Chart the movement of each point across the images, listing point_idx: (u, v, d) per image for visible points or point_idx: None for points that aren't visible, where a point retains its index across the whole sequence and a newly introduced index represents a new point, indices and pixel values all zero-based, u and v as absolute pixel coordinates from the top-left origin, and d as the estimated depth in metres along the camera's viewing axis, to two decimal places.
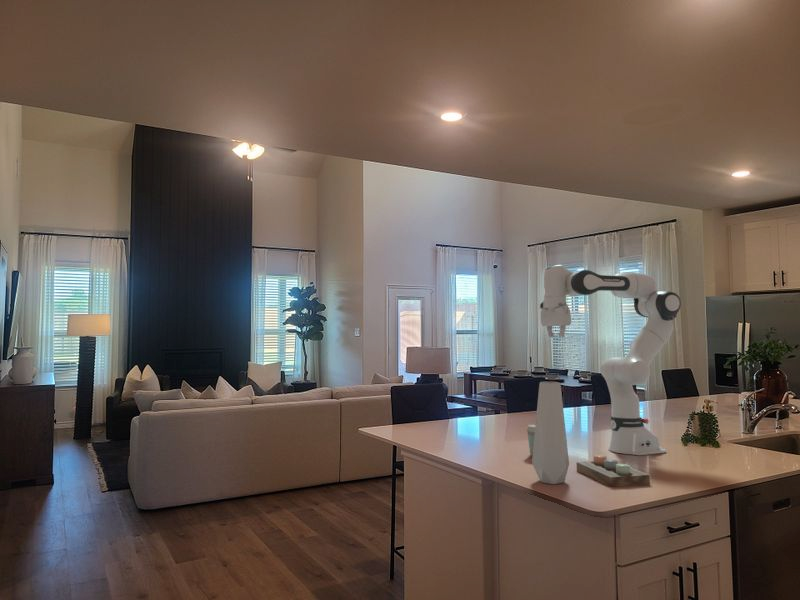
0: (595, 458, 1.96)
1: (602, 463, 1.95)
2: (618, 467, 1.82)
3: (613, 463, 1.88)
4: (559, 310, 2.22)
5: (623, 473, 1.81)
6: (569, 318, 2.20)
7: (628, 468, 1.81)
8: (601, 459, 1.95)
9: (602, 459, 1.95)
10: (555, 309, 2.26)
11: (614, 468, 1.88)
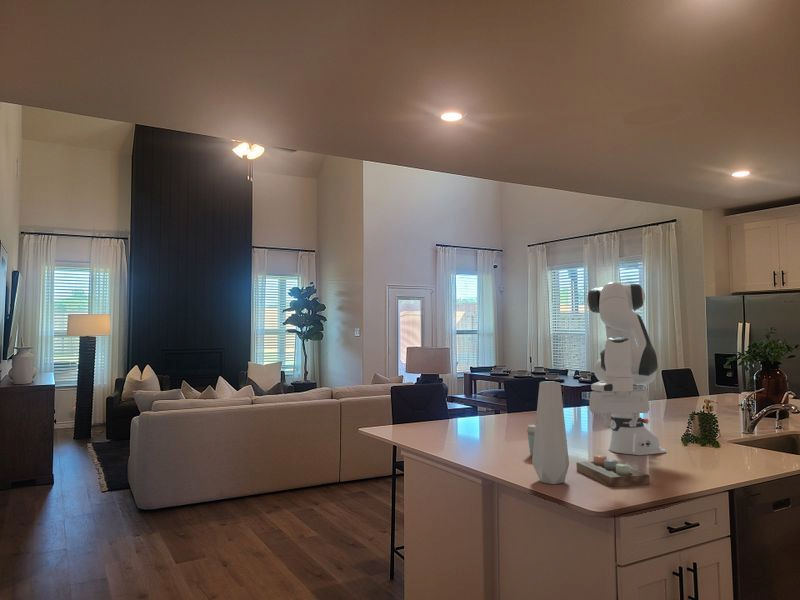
0: (595, 458, 1.96)
1: (602, 463, 1.95)
2: (618, 467, 1.82)
3: (613, 463, 1.88)
4: (641, 394, 1.85)
5: (623, 473, 1.81)
6: None
7: (628, 468, 1.81)
8: (601, 459, 1.95)
9: (602, 459, 1.95)
10: (632, 393, 1.84)
11: (614, 468, 1.88)
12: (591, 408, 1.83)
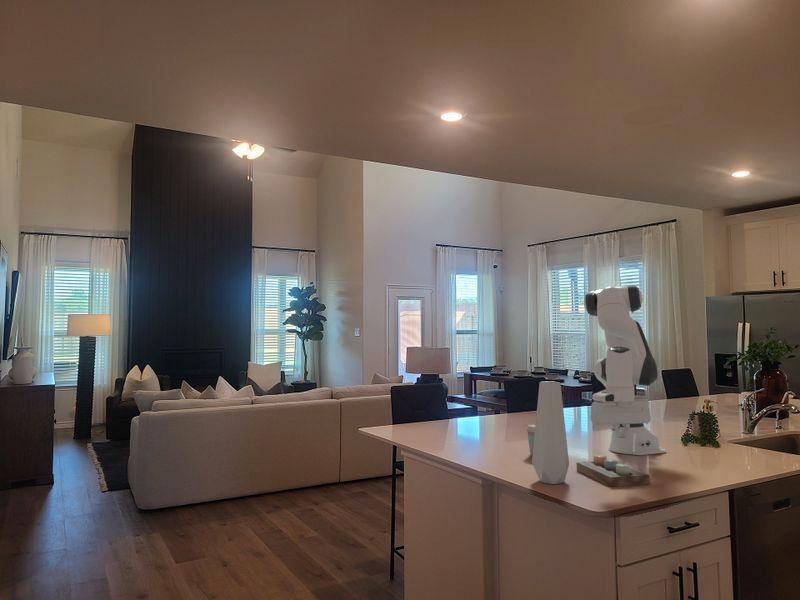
0: (595, 458, 1.96)
1: (602, 463, 1.95)
2: (618, 467, 1.82)
3: (613, 463, 1.88)
4: (642, 405, 1.84)
5: (623, 473, 1.81)
6: None
7: (628, 468, 1.81)
8: (601, 459, 1.95)
9: (602, 459, 1.95)
10: (633, 403, 1.83)
11: (614, 468, 1.88)
12: (592, 418, 1.82)
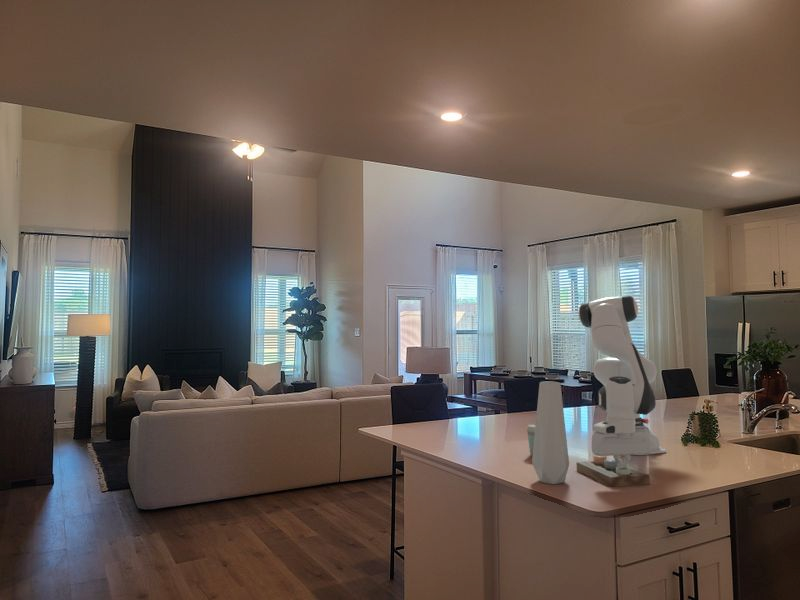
0: (595, 458, 1.96)
1: (602, 463, 1.95)
2: (618, 470, 1.82)
3: (613, 463, 1.88)
4: (643, 435, 1.83)
5: None
6: None
7: (628, 471, 1.81)
8: (601, 459, 1.95)
9: (602, 459, 1.95)
10: (634, 434, 1.83)
11: (614, 468, 1.88)
12: (593, 450, 1.82)
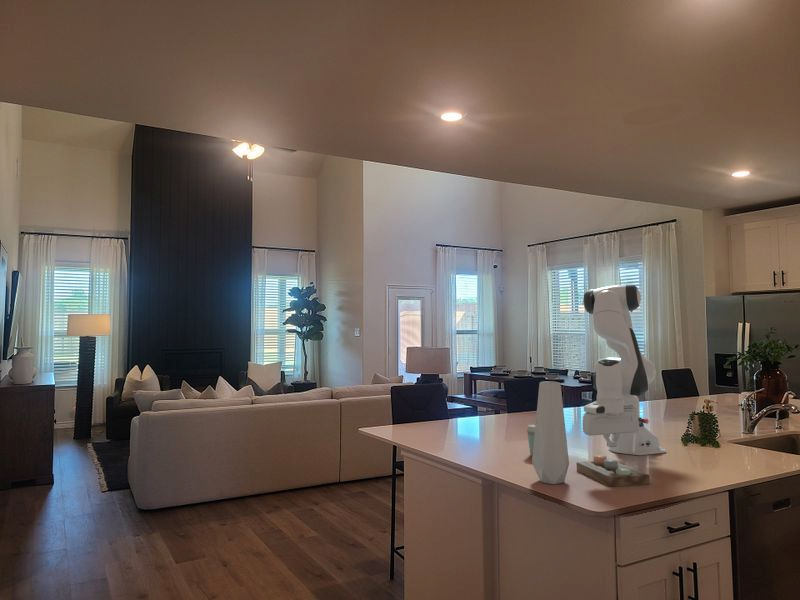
0: (595, 458, 1.96)
1: (602, 463, 1.95)
2: (618, 471, 1.82)
3: (613, 463, 1.88)
4: (631, 415, 1.92)
5: None
6: None
7: (628, 472, 1.81)
8: (601, 459, 1.95)
9: (602, 459, 1.95)
10: (622, 414, 1.91)
11: (614, 468, 1.88)
12: (584, 430, 1.90)
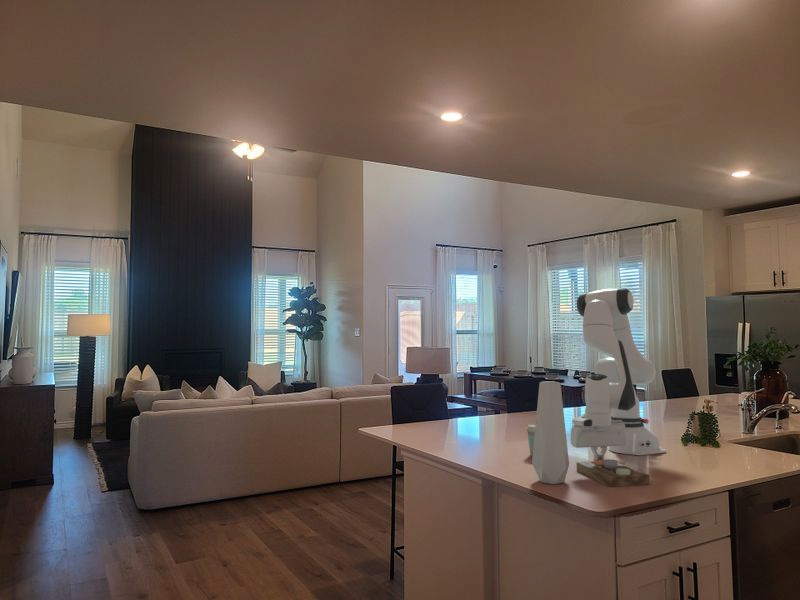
0: (595, 461, 1.96)
1: None
2: (618, 471, 1.82)
3: (613, 463, 1.88)
4: (619, 428, 1.97)
5: None
6: None
7: (628, 472, 1.81)
8: (601, 462, 1.95)
9: (602, 462, 1.95)
10: (610, 427, 1.96)
11: (614, 468, 1.88)
12: (572, 442, 1.96)
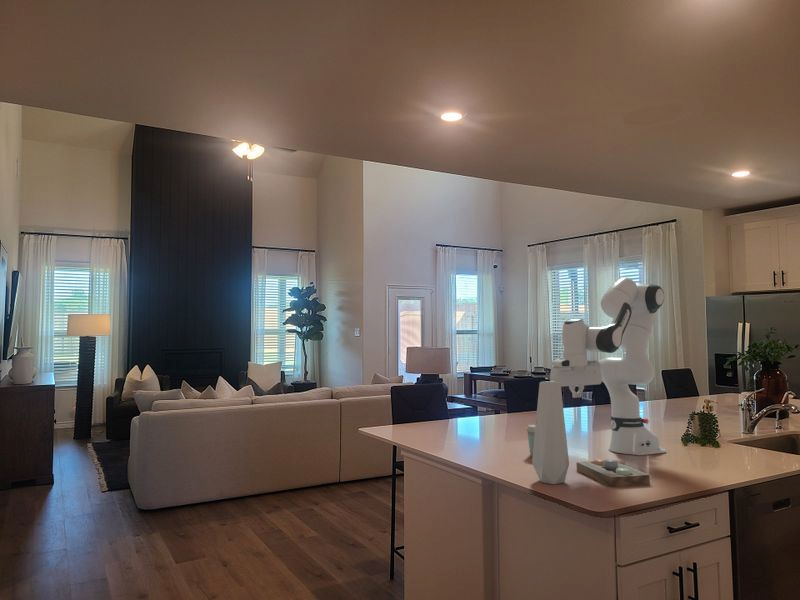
0: (595, 462, 1.96)
1: None
2: (618, 471, 1.82)
3: (613, 463, 1.88)
4: (594, 368, 2.11)
5: None
6: None
7: (628, 472, 1.81)
8: (601, 463, 1.95)
9: (602, 463, 1.95)
10: (586, 367, 2.11)
11: (614, 468, 1.88)
12: None
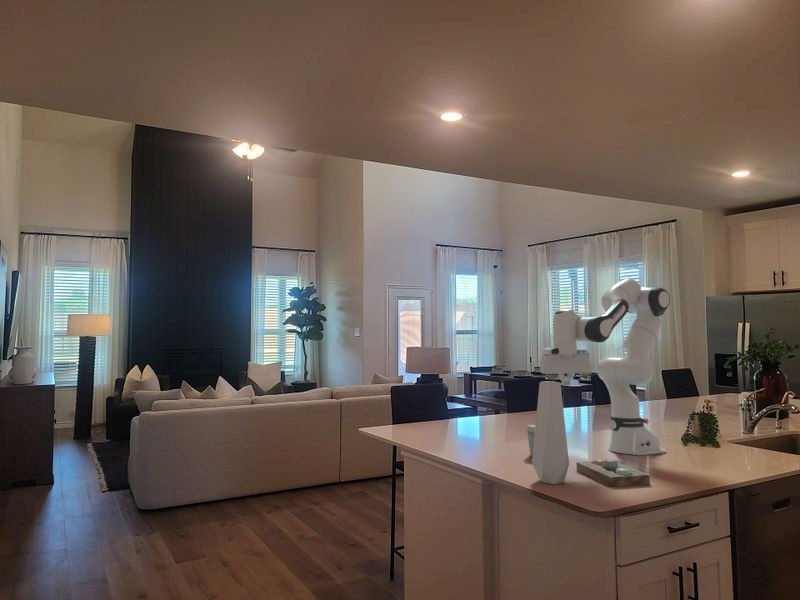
0: (595, 462, 1.96)
1: None
2: (618, 471, 1.82)
3: (613, 463, 1.88)
4: (584, 357, 2.18)
5: None
6: None
7: (628, 472, 1.81)
8: (601, 463, 1.95)
9: (602, 463, 1.95)
10: (575, 356, 2.17)
11: (614, 468, 1.88)
12: (541, 369, 2.16)
